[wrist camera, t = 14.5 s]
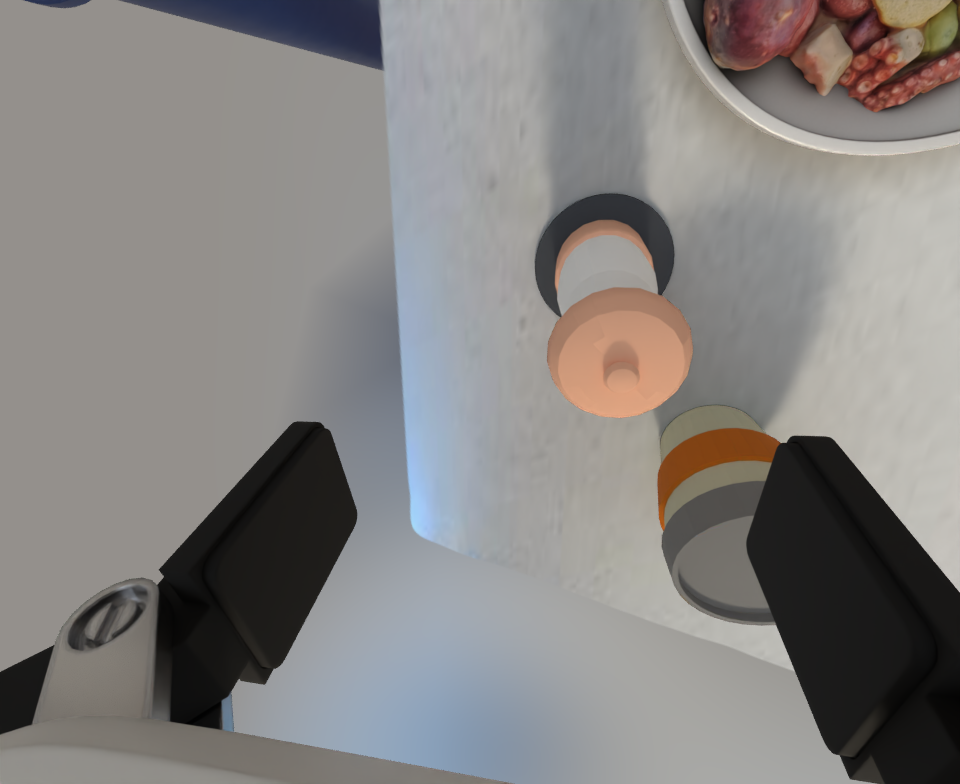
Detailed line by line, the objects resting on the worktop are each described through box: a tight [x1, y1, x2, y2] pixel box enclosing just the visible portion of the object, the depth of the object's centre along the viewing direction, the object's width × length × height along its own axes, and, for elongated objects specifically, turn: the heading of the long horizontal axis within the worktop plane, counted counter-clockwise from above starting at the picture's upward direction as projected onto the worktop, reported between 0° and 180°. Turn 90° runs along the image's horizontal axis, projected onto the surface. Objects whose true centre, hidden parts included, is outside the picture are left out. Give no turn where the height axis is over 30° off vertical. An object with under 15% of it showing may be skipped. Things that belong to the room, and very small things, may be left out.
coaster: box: [535, 194, 674, 317], centre depth 36 cm, size 11×11×1 cm
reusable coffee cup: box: [658, 405, 780, 625], centre depth 37 cm, size 13×13×15 cm
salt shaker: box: [547, 220, 693, 418], centre depth 28 cm, size 7×7×19 cm
